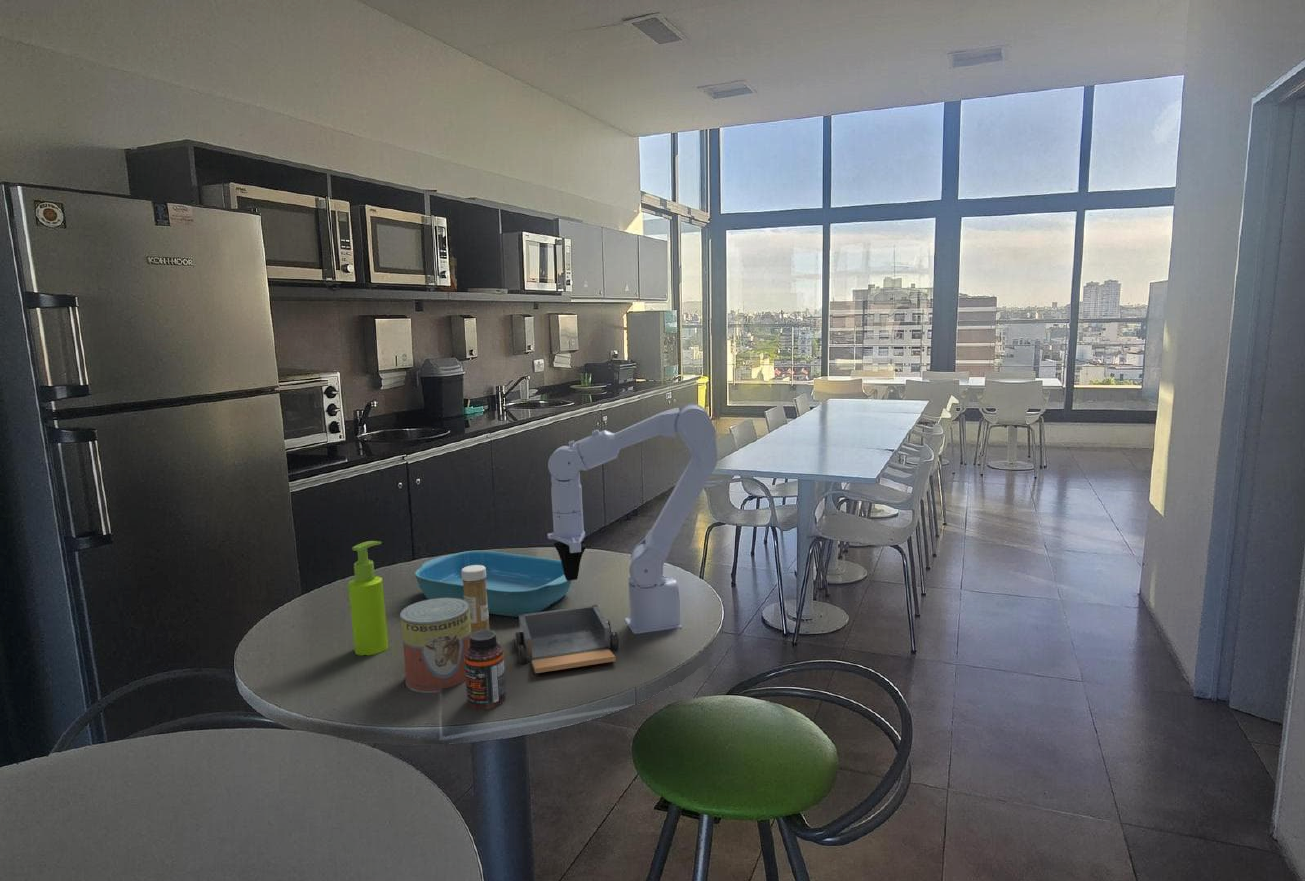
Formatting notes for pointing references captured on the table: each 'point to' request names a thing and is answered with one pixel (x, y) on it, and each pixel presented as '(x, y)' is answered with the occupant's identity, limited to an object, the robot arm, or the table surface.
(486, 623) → the sprinkles bottle
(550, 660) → the panel
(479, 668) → the supplement bottle
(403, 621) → the canned food
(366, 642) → the soap dispenser
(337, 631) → the table surface
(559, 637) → the trailer
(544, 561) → the casserole dish
